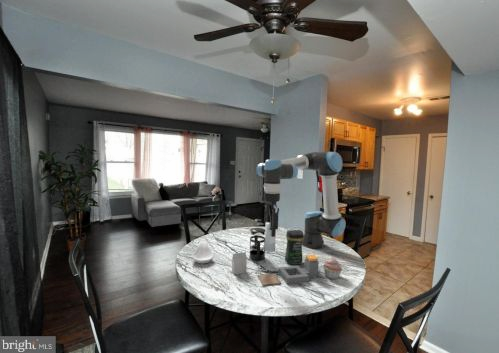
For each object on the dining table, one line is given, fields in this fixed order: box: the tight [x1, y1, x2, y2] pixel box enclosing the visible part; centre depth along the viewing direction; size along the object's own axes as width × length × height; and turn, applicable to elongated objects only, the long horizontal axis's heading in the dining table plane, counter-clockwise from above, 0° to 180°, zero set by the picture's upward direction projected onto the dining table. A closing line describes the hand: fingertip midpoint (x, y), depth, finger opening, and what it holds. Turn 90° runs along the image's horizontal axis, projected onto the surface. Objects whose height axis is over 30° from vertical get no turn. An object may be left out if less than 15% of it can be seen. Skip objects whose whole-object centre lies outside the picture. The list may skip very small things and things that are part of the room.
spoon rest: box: [191, 241, 214, 264], centre depth 136 cm, size 24×12×7 cm, turn 12°
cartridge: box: [264, 222, 277, 253], centre depth 110 cm, size 5×5×13 cm
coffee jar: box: [284, 229, 304, 265], centre depth 132 cm, size 10×8×19 cm
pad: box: [257, 273, 282, 287], centre depth 112 cm, size 9×9×1 cm
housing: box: [278, 257, 320, 285], centre depth 116 cm, size 18×11×8 cm, turn 104°
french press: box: [249, 218, 266, 262], centre depth 137 cm, size 12×9×23 cm
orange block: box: [304, 254, 319, 262], centre depth 117 cm, size 5×5×6 cm
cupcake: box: [322, 256, 343, 280], centre depth 117 cm, size 9×9×10 cm
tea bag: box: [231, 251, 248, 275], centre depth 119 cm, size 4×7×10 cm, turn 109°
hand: (270, 240), depth 111 cm, fingers closed on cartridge, 5 cm apart
